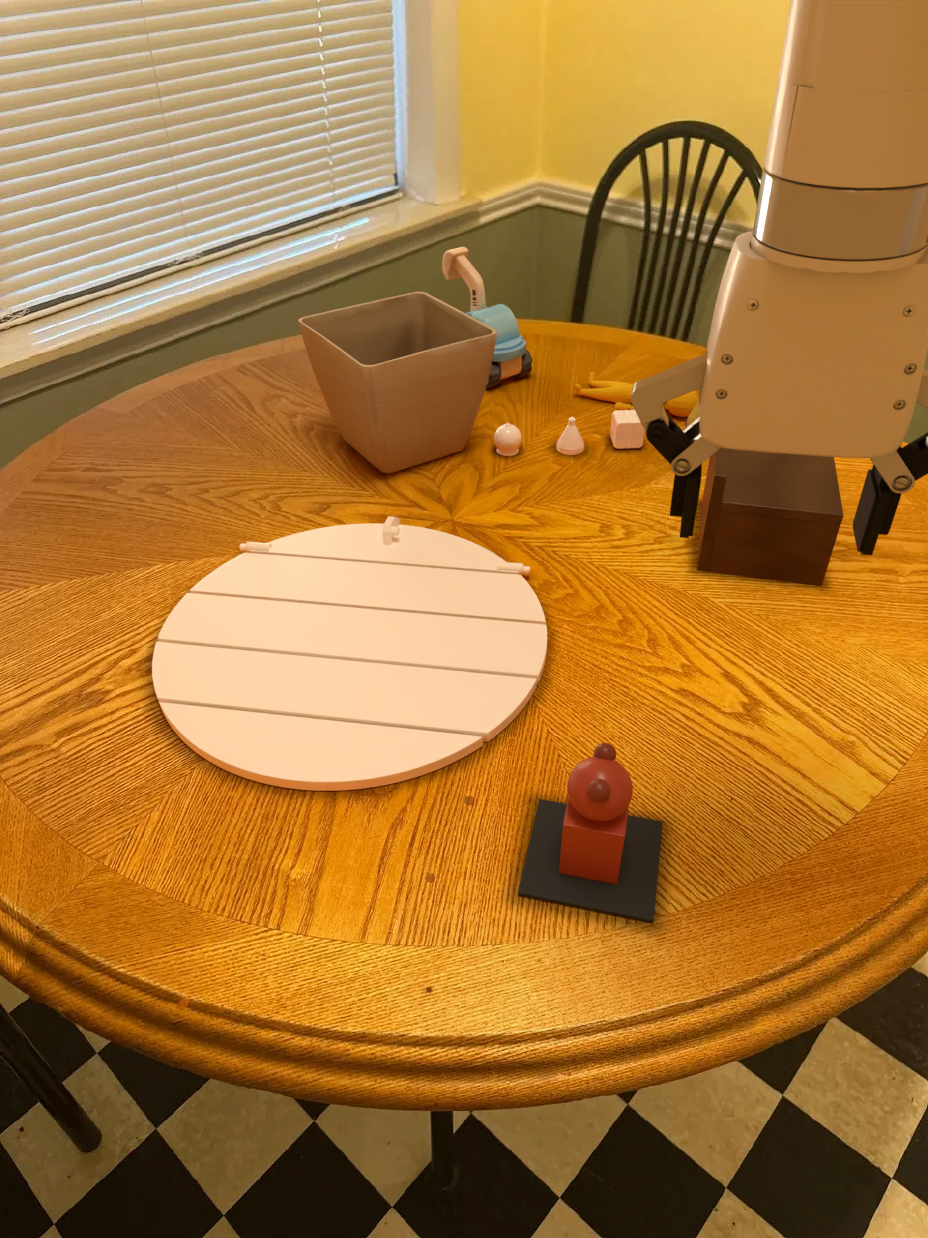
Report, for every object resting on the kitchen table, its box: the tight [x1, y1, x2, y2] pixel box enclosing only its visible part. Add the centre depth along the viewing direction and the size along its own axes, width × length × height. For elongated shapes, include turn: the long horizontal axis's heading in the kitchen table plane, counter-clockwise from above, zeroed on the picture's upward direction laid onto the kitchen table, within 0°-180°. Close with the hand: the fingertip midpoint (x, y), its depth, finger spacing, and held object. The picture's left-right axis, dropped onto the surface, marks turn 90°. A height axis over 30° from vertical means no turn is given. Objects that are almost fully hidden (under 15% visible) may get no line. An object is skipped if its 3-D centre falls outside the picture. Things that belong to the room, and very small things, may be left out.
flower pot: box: [297, 290, 497, 474], centre depth 114 cm, size 19×19×17 cm
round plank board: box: [151, 515, 548, 792], centre depth 87 cm, size 40×39×3 cm
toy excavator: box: [441, 246, 534, 389], centre depth 133 cm, size 9×17×17 cm, turn 34°
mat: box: [517, 798, 663, 924], centre depth 67 cm, size 10×9×1 cm
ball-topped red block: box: [559, 742, 634, 884], centre depth 63 cm, size 5×5×11 cm
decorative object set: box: [493, 410, 645, 457], centre depth 116 cm, size 5×20×4 cm, turn 92°
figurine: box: [574, 371, 699, 418], centre depth 126 cm, size 14×5×18 cm
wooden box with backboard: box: [696, 447, 844, 587], centre depth 95 cm, size 13×14×12 cm
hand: (772, 533), depth 49 cm, fingers open, 9 cm apart
